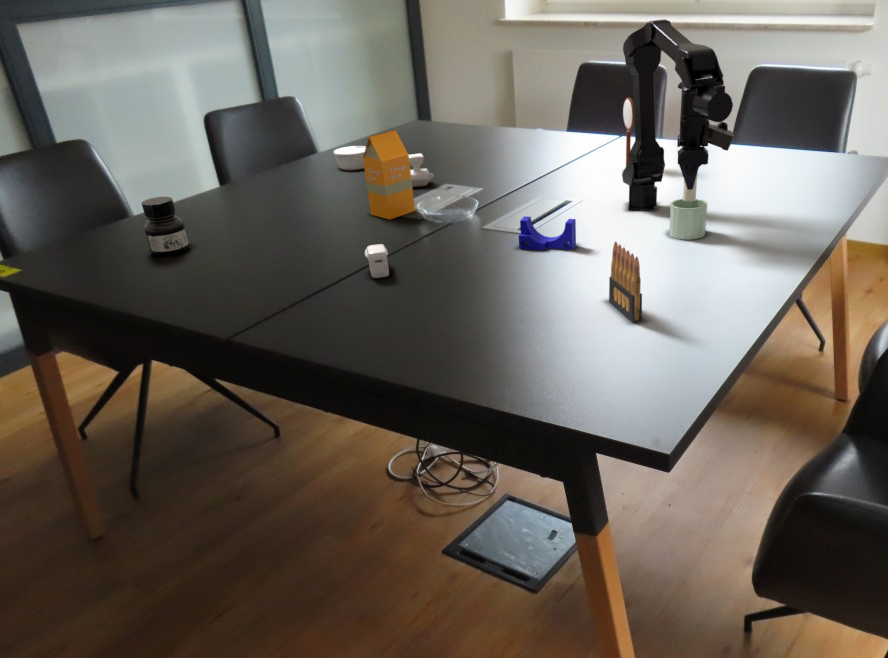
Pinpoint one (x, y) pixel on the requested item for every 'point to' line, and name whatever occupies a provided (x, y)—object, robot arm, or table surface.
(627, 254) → the ammunition clip
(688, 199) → the glue stick
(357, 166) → the ramekin
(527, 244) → the blue mounting bracket
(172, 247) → the ink bottle
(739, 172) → the table surface
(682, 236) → the pen holder
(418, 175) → the stamp
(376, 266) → the power adapter
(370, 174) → the orange juice
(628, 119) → the magnifying glass
